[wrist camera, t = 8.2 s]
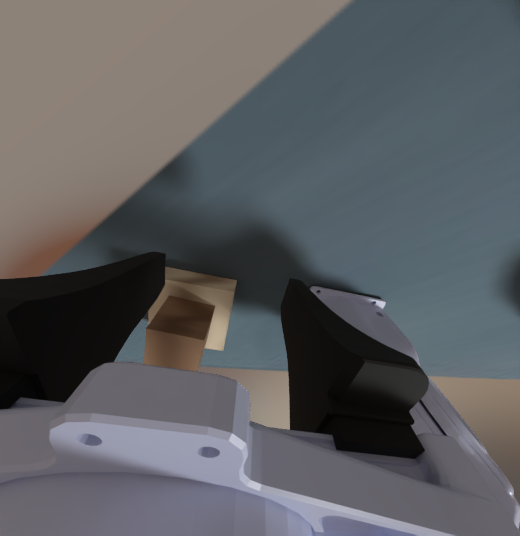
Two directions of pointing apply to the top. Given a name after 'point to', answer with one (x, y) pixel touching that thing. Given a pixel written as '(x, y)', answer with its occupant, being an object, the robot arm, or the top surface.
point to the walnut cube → (178, 334)
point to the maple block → (200, 299)
